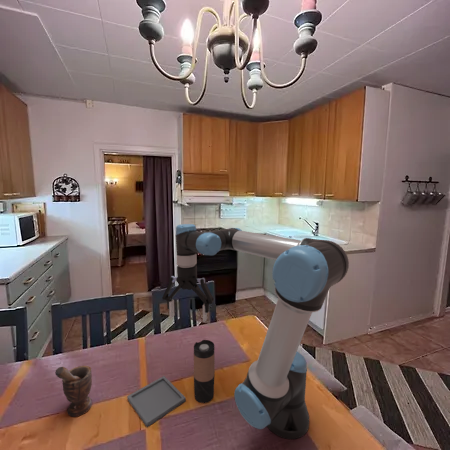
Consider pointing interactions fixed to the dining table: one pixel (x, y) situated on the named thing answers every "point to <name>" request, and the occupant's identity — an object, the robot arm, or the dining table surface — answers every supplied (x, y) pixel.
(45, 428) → the dining table surface
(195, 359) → the travel mug
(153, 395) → the slate tray
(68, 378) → the mortar and pestle
